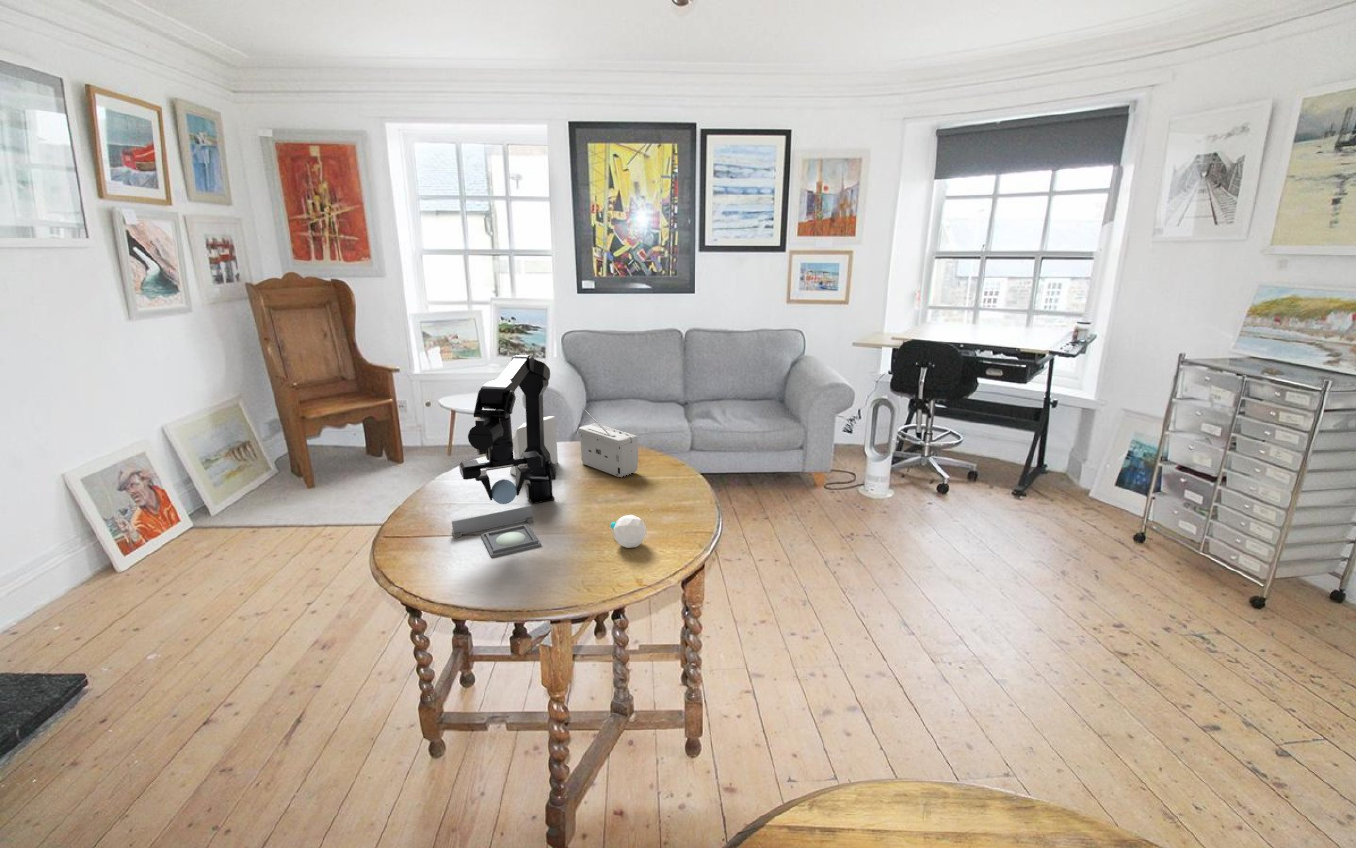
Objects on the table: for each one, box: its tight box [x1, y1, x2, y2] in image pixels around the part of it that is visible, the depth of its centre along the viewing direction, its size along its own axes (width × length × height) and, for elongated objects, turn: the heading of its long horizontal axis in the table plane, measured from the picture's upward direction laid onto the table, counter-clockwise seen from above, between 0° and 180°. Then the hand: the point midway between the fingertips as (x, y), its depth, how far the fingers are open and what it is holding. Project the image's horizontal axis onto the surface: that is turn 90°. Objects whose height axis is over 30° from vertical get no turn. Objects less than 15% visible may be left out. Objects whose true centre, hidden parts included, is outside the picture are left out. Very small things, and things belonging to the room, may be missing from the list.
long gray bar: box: [451, 503, 535, 539], centre depth 154 cm, size 20×4×4 cm, turn 119°
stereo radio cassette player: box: [578, 407, 639, 478], centre depth 192 cm, size 21×8×20 cm, turn 49°
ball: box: [491, 479, 517, 505], centre depth 144 cm, size 6×6×6 cm
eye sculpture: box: [509, 415, 559, 477], centre depth 193 cm, size 17×12×16 cm
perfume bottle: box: [610, 514, 647, 549], centre depth 146 cm, size 8×8×12 cm
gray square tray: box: [480, 523, 542, 558], centre depth 147 cm, size 12×12×1 cm
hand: (504, 497), depth 145 cm, fingers closed on ball, 6 cm apart
